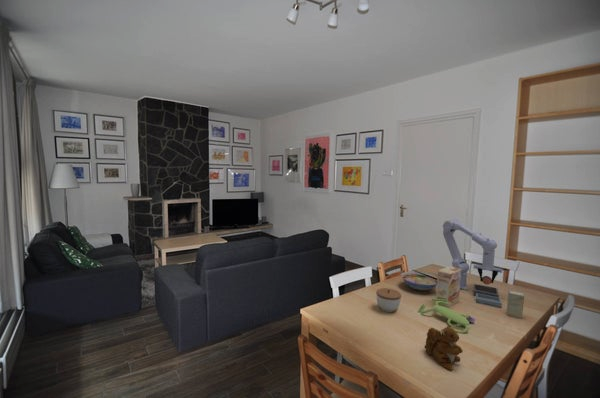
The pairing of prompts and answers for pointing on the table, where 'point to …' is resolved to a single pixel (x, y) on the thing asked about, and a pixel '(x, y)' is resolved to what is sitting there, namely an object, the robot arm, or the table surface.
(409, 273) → the ramen bowl
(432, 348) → the stuffed squirrel
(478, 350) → the table surface
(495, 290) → the grey square frame
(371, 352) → the table surface
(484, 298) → the tray
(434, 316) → the table surface
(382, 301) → the lidded bowl
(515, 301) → the skincare box
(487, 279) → the ball
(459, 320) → the figurine
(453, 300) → the coffeecake box
